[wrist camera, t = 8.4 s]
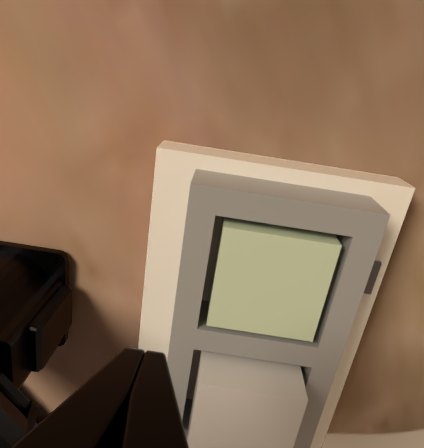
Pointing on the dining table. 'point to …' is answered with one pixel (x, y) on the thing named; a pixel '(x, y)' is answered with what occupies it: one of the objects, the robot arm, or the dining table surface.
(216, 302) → the sage key
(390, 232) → the grey piece
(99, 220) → the dining table surface
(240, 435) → the grey key
